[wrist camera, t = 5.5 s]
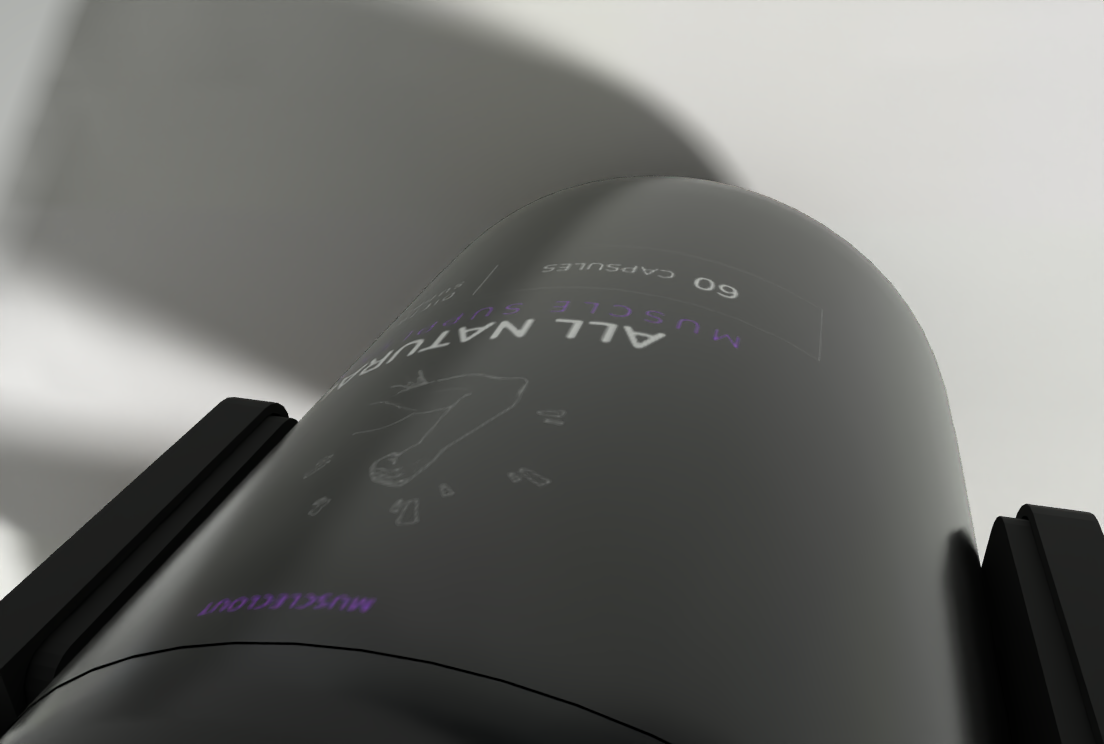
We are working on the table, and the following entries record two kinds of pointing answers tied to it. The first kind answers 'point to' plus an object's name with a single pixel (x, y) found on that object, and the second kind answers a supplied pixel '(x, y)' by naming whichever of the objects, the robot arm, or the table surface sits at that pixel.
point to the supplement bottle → (586, 513)
